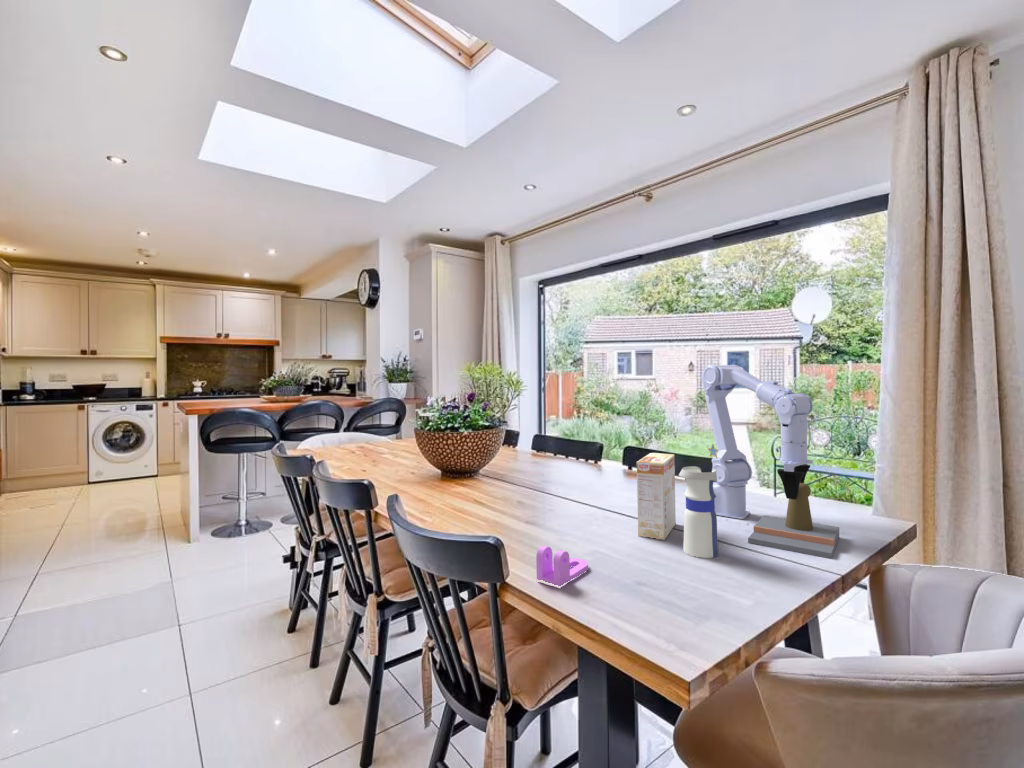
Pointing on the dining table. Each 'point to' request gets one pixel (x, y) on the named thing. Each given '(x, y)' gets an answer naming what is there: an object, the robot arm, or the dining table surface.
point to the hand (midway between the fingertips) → (794, 495)
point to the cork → (800, 510)
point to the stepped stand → (795, 537)
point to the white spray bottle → (700, 511)
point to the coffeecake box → (656, 495)
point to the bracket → (558, 566)
